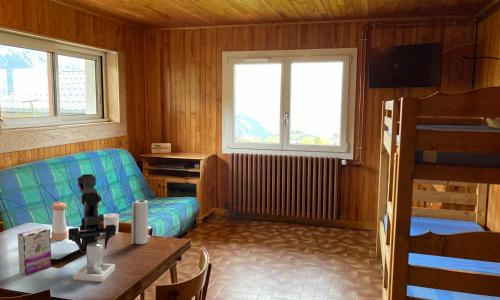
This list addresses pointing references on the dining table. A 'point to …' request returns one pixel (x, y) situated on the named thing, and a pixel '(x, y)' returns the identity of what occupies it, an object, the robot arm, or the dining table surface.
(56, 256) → the dining table surface
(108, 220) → the white cup
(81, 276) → the bin
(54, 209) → the pepper shaker
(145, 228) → the paper towel roll
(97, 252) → the gravel can
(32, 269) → the candy bar box
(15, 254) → the dining table surface
